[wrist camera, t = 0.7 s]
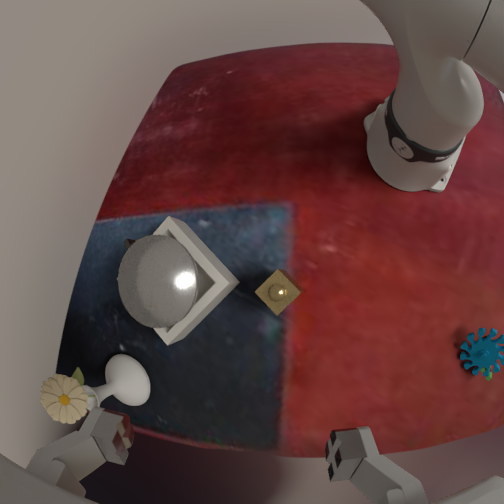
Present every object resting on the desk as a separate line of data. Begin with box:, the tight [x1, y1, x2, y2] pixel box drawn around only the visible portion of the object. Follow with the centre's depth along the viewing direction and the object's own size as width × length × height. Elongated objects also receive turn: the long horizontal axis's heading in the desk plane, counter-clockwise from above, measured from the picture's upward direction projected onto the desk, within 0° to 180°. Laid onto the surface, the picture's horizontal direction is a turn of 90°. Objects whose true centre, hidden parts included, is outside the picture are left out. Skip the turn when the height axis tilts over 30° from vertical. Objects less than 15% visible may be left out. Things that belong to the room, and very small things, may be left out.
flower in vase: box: [41, 354, 150, 424], centre depth 40 cm, size 13×11×25 cm
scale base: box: [117, 216, 240, 345], centre depth 48 cm, size 15×15×6 cm
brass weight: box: [255, 269, 304, 315], centre depth 43 cm, size 4×4×9 cm
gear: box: [460, 328, 504, 381], centre depth 36 cm, size 11×6×10 cm
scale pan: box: [118, 235, 199, 328], centre depth 45 cm, size 14×16×6 cm
